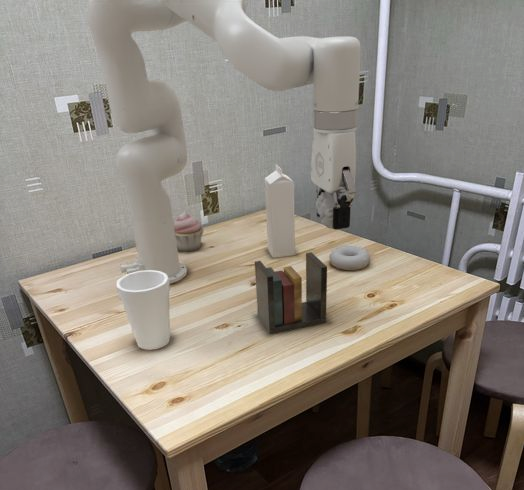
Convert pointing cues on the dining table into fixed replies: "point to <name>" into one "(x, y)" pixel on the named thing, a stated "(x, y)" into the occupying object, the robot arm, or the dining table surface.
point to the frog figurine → (326, 208)
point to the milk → (280, 214)
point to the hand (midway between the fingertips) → (332, 221)
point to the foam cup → (147, 306)
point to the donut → (349, 257)
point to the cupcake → (188, 232)
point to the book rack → (291, 296)
